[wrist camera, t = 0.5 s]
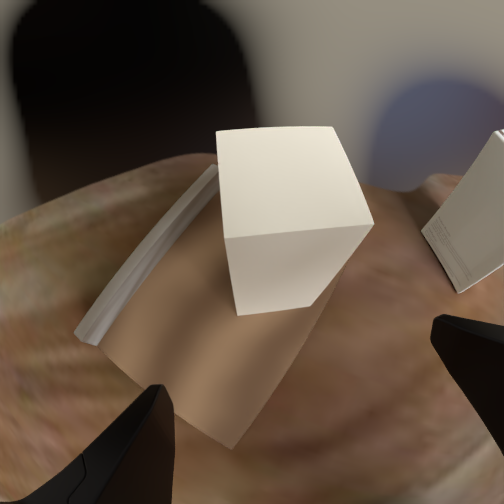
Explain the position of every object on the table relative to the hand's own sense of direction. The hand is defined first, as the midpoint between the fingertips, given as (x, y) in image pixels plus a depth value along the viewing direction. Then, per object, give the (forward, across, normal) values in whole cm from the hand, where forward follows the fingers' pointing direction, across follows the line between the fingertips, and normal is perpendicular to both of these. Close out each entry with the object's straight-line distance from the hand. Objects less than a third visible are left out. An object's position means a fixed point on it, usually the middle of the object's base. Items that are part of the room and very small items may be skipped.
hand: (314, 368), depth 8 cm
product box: (+14, -1, +2) cm, 14 cm away
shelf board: (+14, +4, +4) cm, 15 cm away
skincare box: (+15, -21, +4) cm, 26 cm away
